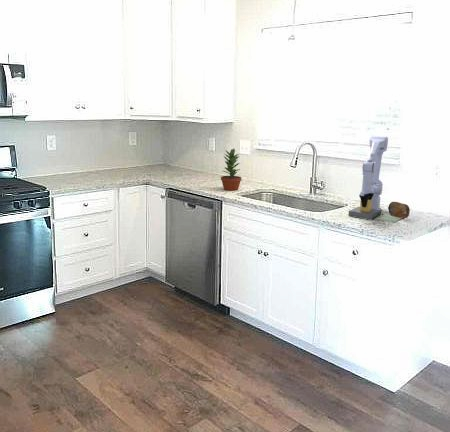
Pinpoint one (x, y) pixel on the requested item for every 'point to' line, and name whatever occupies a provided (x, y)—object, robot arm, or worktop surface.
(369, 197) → the robot arm
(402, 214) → the tin
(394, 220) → the mat
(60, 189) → the worktop surface
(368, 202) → the plug
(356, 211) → the square hole plate
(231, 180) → the potted plant
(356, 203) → the worktop surface
